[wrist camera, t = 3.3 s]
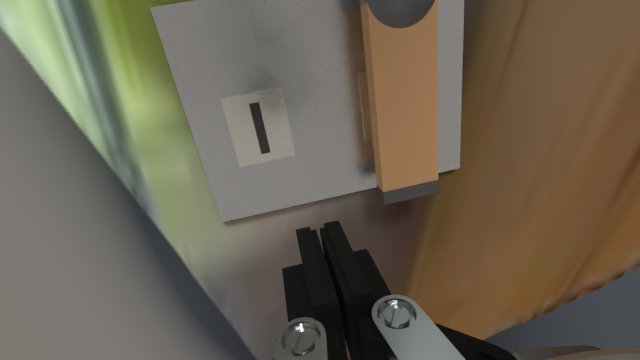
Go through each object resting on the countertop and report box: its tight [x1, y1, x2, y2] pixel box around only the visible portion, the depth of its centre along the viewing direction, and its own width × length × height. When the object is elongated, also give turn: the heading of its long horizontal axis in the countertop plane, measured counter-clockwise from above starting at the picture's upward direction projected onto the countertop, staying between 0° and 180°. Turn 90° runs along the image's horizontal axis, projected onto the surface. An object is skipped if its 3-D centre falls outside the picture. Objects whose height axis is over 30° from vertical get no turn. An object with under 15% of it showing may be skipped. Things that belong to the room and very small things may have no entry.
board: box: [150, 0, 464, 222], centre depth 27 cm, size 18×24×3 cm
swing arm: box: [359, 0, 439, 205], centre depth 25 cm, size 19×5×2 cm, turn 9°
